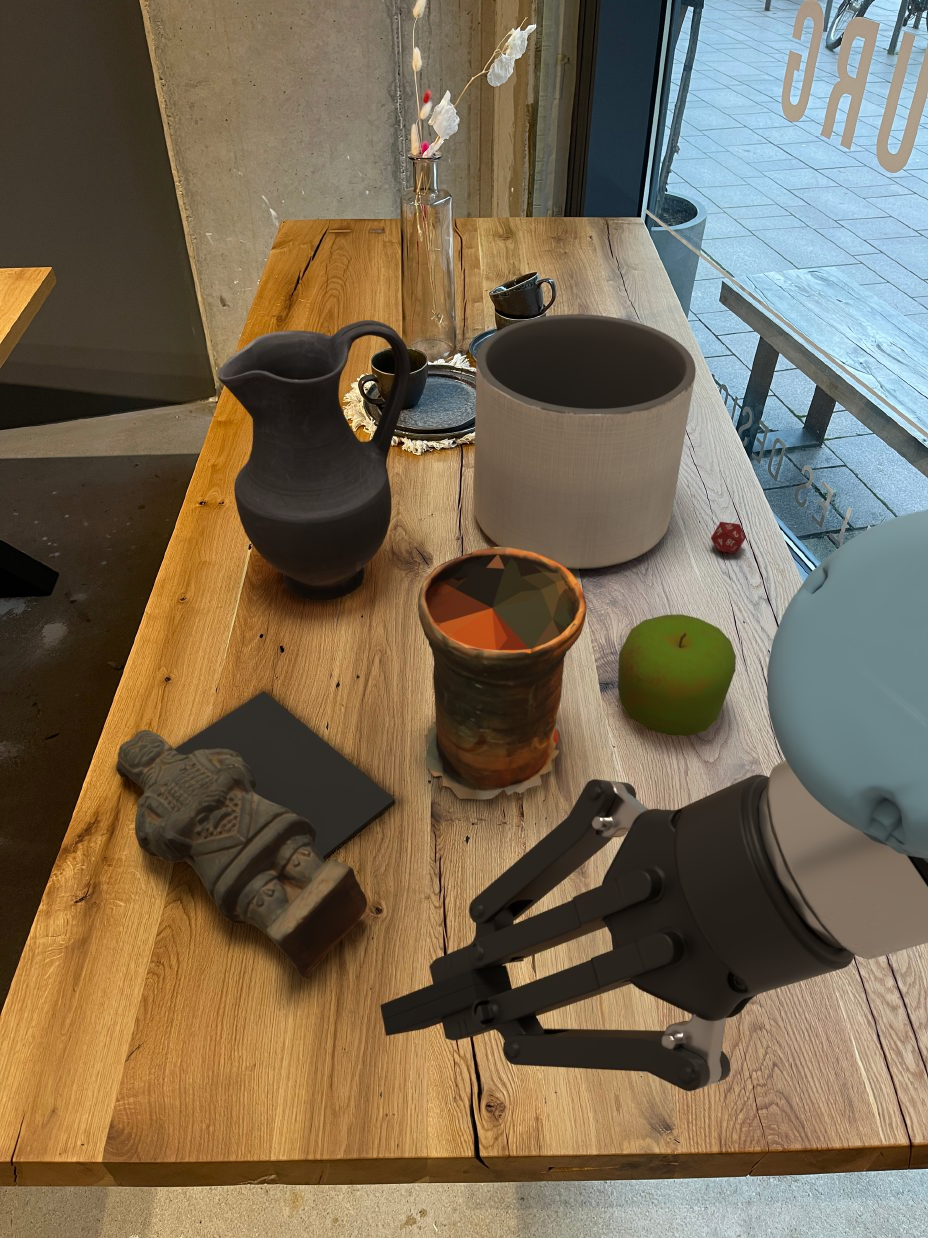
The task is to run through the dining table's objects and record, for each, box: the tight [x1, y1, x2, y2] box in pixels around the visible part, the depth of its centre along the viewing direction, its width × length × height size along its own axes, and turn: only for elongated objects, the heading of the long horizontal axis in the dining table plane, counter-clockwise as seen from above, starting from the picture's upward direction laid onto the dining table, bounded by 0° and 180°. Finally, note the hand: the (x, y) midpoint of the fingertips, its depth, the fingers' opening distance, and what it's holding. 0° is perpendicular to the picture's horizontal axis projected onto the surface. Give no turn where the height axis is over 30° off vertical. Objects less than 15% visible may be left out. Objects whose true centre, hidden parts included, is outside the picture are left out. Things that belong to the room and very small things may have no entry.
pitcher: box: [218, 319, 411, 602], centre depth 101 cm, size 17×21×30 cm
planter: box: [472, 313, 697, 570], centre depth 112 cm, size 25×25×22 cm
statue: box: [115, 729, 368, 978], centre depth 78 cm, size 11×9×30 cm
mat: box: [173, 690, 396, 861], centre depth 86 cm, size 20×14×1 cm
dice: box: [710, 521, 747, 555], centre depth 112 cm, size 4×4×4 cm
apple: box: [617, 613, 737, 737], centre depth 90 cm, size 11×11×11 cm
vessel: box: [417, 546, 587, 800], centre depth 83 cm, size 14×14×20 cm
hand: (402, 1017), depth 47 cm, fingers closed
